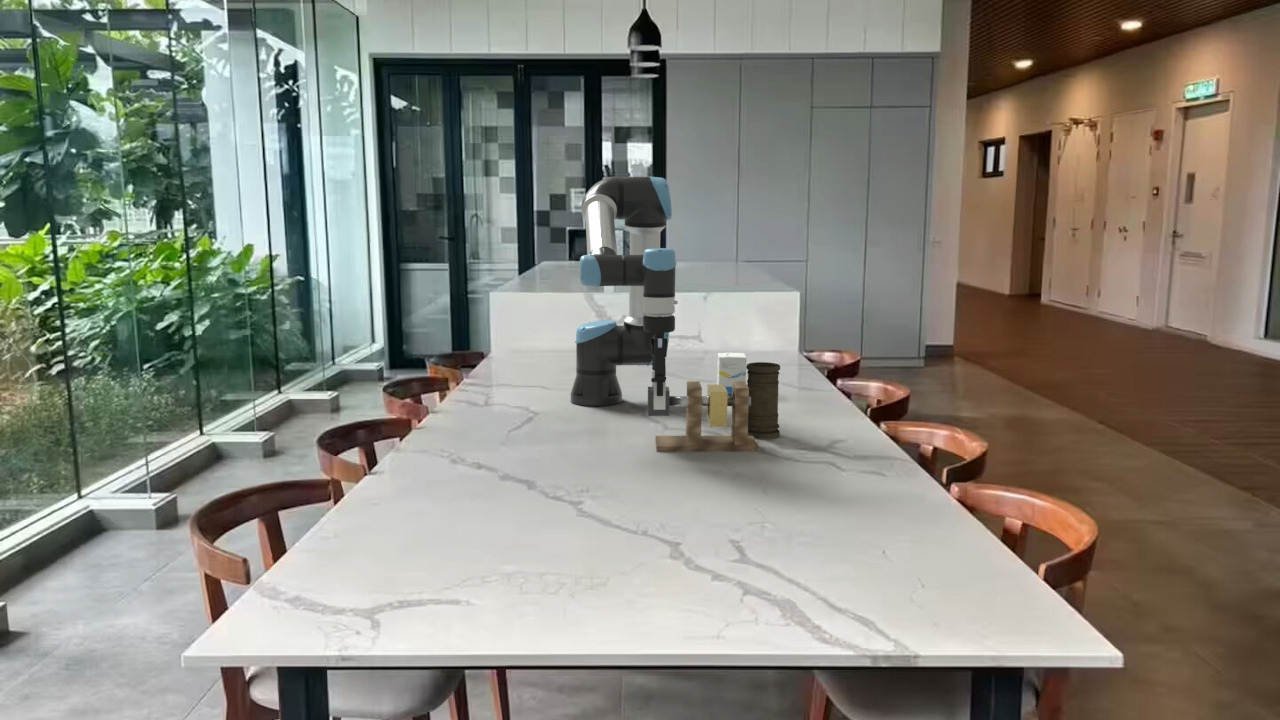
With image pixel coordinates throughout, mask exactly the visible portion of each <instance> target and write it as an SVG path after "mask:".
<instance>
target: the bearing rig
mask: <svg viewBox="0 0 1280 720" xmlns="http://www.w3.org/2000/svg"><path fill="white" fill-rule="evenodd" d="M747 384H748V383H747V382H746V383H745V382H732V395H731V396H735V406H731V421H730V422H731V423H730V424H731V427H730V429H731V430H730V435H702V410H703V409H702V407H703V406H702V396H703V395H702V394H703V388H702V385H701V382H700V381H698V380H697V381H690V380H688V381H686V396H688V406H686V418H685V421H686V423H685V424H686V427H685V429H686V430H685V431H686V432H685V434H686V435H655V436H654V437H655V449H656V452H759V447H760V446H759V445H758V443H757V441H756V438H754V437H753V436H748V404H749V388H748V386H747Z"/></svg>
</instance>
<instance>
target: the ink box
mask: <svg viewBox="0 0 1280 720" xmlns="http://www.w3.org/2000/svg"><path fill="white" fill-rule="evenodd" d="M716 362H717V367H716V385H724V386H725V388H726V390H727V392H728V395H727V396H729V395H730V396H732V382H745V383H746V384H747V368H746V366H747V356H746V354H745V352H718V353H717V361H716Z"/></svg>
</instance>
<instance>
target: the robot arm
mask: <svg viewBox="0 0 1280 720" xmlns="http://www.w3.org/2000/svg"><path fill="white" fill-rule="evenodd" d="M671 201H672V200H671V192H670V188H669V184H668V181H667V179H666V178H664V177H658V176H610V177H609V176H608V177H606V178H603V179H601V180H599V181H597V182H596V183H594V184H593V185H592V186H590V188H589V189H588V191H587V192H586V193H585V195H584V197H583V199H582V202H581V215H582V219H583V220H584V221H585V232H586V233H585V234H586V237H585V238H586V254H584V255H582V256H580V258H579V275H580V277H579V278H580V279H579V281H580V284H581V285H582V286H586V287H587V286H590V287H596V288H597V287H629V289H628V290H629V292H628V293H629V297H628V298H629V299H628V300H629V301H628V305H629V307H628V308H629V309H628V311H629V312H628V314H627V315H626V317H624V318H623V325H618V323H617V322H616V321H615V320H613V319H607V320H595V321H590V322H586V323H582V324H581V325H579V326H577V328H576V334H575V335H576V337H575V344H576V348H575V349H576V352H575V353H576V354H575V355H576V356H575V357H576V358H575V359H576V360H575V363H576V366H575V367H576V371H575V372H576V374H575V378H574V381H573V385H572V388H571V391H570V402H571V403H573V404H575V405H578V406H589V407H601V406H602V407H603V406H605V407H606V406H613V405H618V404H620V403H621V402H623V392H622V389H621V386H620V383H619V379H618V377H617V366H646V367H648V366H651V369H652V371H651V374H652V375H651V376H652V377H651V387H654V410H665V400H666V387H667V386H666V385H667V383H666V382H667V377H666V374H667V373H666V372H667V371H666V367H667V365H666V358H667V354H668V353H667V352H668V348H669V335H670V333H673V332H674V331H675V330H676V317H675V316H674V315H673V314H675V313H676V306H675V305H678V300H676V266H677V260H676V251H675V250H674V249H673V248H666V247H661V232H662V231H663V230H664V229H665V228H666V227H667V221H670V220H672V218H673V217H672V216H673V215H672V211H673V210H672V202H671ZM615 220H624V227H626V229H627V230H628V231H629V254H618V250H617V249H618V247H617V237H616V236H617V235H616V227H615V225H616V224H615Z"/></svg>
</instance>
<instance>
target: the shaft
mask: <svg viewBox="0 0 1280 720" xmlns="http://www.w3.org/2000/svg"><path fill="white" fill-rule="evenodd" d="M709 403H710V398H709V396H707V395H702V407H707V406H709ZM687 406H688V396H687V395H682V396H681V395H670V387H669V386H666V400H665V410H654V387H652V386H647V416H648V417H663V416H664V417H669V416H670V407H687ZM732 406H735V396H732V395H730V396H729V395H727V407H732ZM748 406H751V396H749V404H748Z"/></svg>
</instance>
